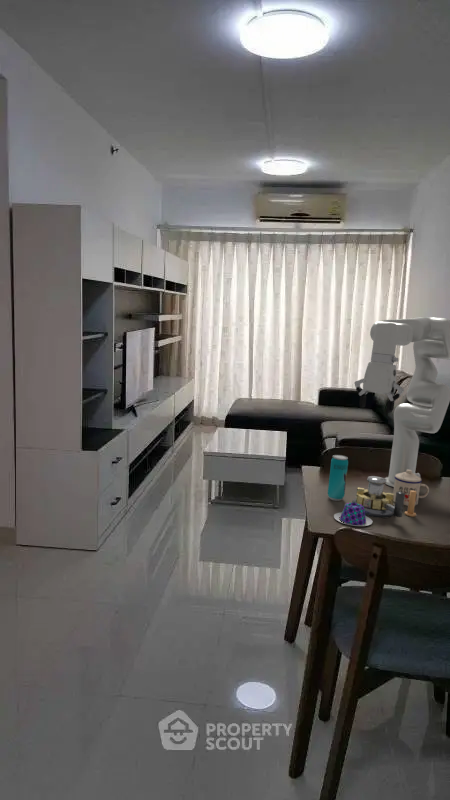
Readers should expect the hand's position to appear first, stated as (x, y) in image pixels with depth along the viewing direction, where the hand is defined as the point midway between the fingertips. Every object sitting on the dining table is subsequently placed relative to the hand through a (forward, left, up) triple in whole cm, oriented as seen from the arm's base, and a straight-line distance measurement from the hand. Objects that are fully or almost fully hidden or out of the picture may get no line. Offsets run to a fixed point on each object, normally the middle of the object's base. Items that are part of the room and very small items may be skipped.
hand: (375, 409), depth 206 cm
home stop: (-4, +16, -32) cm, 36 cm away
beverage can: (+7, -7, -33) cm, 34 cm away
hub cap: (+4, +7, -32) cm, 33 cm away
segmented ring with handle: (+5, +11, -30) cm, 32 cm away
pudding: (+18, +10, -33) cm, 39 cm away
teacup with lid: (-15, +8, -33) cm, 37 cm away
